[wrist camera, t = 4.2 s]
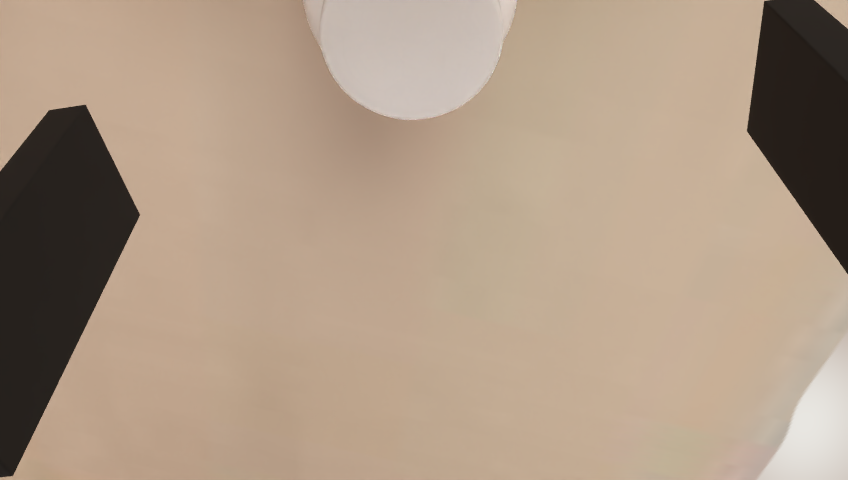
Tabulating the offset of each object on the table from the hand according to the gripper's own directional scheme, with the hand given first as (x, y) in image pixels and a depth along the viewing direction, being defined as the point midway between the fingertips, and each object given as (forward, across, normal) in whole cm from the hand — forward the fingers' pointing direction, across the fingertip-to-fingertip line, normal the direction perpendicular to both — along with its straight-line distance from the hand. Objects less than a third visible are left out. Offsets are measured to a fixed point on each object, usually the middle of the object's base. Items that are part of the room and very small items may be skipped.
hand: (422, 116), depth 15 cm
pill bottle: (+16, 0, 0) cm, 16 cm away
